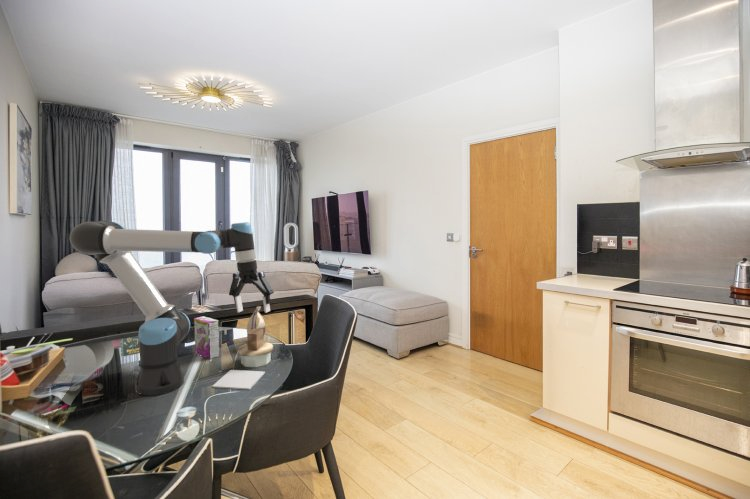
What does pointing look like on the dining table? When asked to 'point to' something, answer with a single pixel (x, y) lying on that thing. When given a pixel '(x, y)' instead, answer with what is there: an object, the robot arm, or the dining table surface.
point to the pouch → (256, 321)
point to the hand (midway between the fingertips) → (253, 311)
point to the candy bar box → (206, 337)
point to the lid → (255, 344)
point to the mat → (239, 379)
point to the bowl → (255, 360)
